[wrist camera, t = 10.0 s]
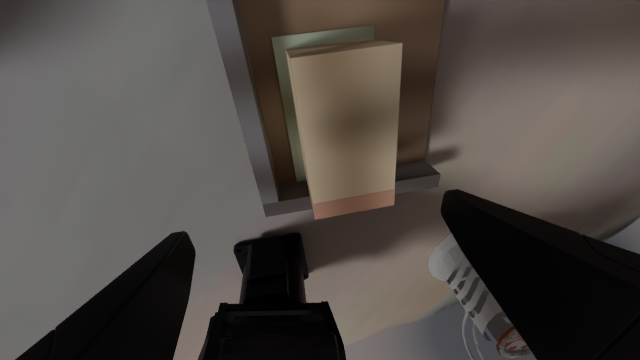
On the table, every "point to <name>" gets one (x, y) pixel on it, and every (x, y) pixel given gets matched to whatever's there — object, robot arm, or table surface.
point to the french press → (475, 299)
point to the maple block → (347, 122)
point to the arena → (276, 92)
